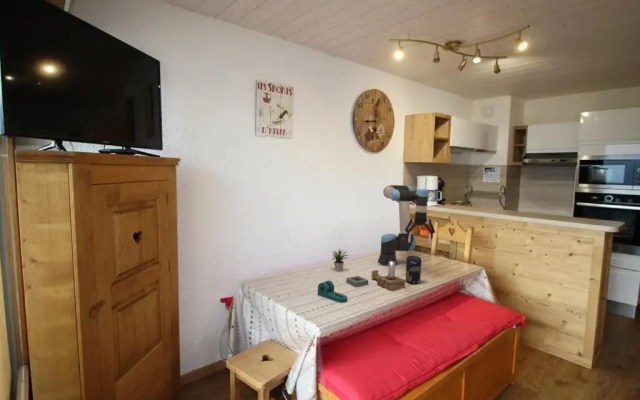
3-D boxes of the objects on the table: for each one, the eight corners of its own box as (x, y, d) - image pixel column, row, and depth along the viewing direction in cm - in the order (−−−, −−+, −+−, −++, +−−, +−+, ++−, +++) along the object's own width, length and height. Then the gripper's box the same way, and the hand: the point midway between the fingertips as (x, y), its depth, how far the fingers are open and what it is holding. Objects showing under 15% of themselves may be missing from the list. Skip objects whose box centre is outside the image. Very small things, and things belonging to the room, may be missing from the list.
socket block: (377, 284, 210) (377, 277, 210) (390, 282, 217) (391, 274, 216) (390, 291, 200) (391, 283, 200) (404, 287, 206) (405, 280, 206)
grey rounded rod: (386, 285, 209) (387, 261, 208) (390, 284, 211) (392, 260, 210) (390, 287, 206) (392, 262, 204) (395, 286, 208) (396, 262, 206)
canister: (420, 281, 221) (422, 254, 219) (419, 285, 212) (421, 258, 210) (405, 279, 224) (407, 253, 222) (404, 283, 215) (406, 256, 213)
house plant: (337, 275, 228) (338, 251, 226) (324, 270, 238) (325, 248, 237) (351, 271, 237) (352, 249, 236) (338, 266, 247) (339, 245, 246)
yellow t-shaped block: (371, 279, 220) (371, 270, 220) (376, 278, 223) (376, 269, 222) (381, 283, 212) (381, 274, 212) (386, 282, 215) (386, 273, 214)
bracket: (317, 295, 190) (318, 281, 190) (325, 292, 195) (325, 279, 195) (342, 304, 178) (342, 289, 178) (349, 300, 183) (350, 286, 183)
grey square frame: (346, 282, 213) (346, 278, 213) (358, 280, 218) (358, 275, 218) (355, 287, 204) (356, 282, 204) (368, 284, 210) (368, 280, 210)
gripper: (403, 211, 220) (401, 242, 222) (441, 213, 219) (439, 244, 221) (401, 210, 228) (399, 240, 230) (437, 211, 226) (435, 241, 229)
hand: (419, 242), depth 225 cm, fingers open, 13 cm apart
